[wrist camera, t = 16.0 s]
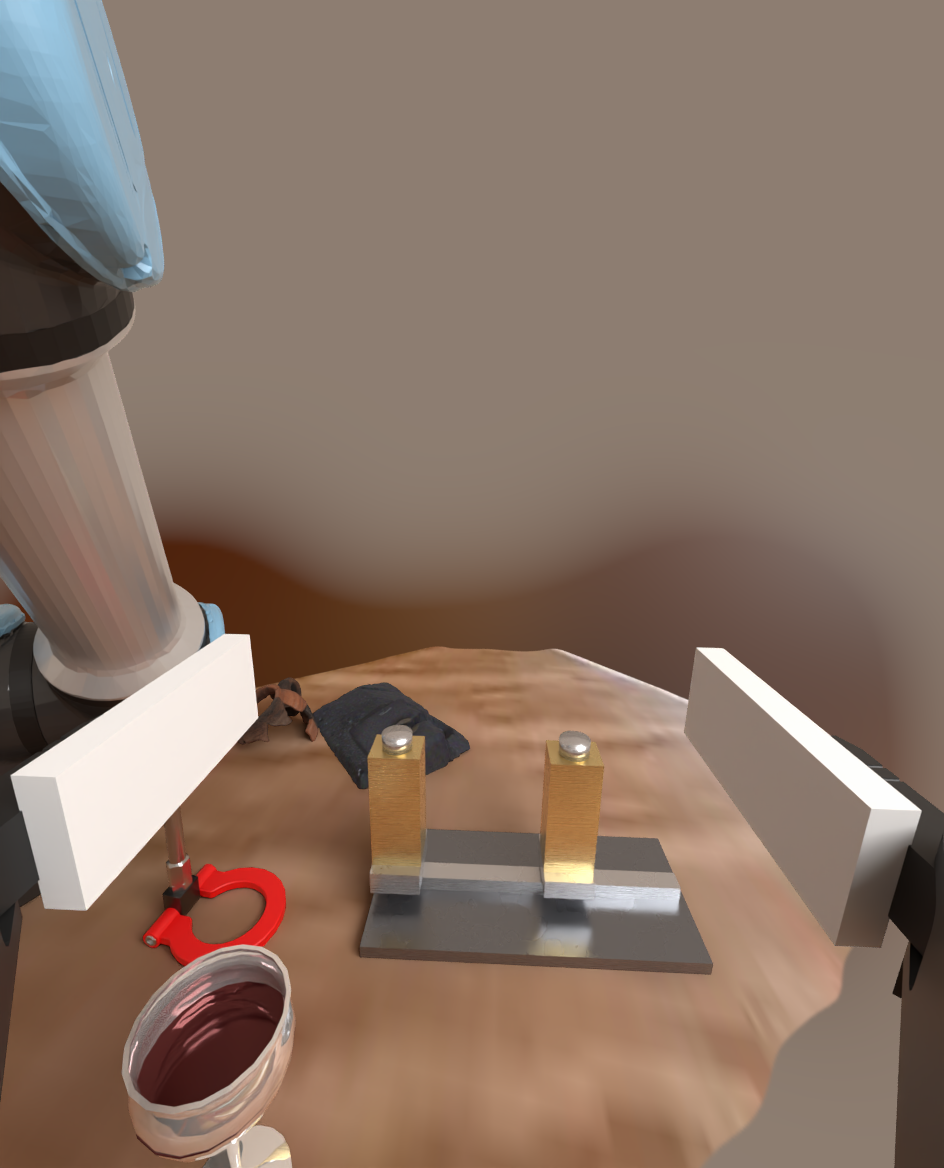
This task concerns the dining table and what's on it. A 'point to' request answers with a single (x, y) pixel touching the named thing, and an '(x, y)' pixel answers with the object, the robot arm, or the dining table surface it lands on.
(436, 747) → the dark folded cloth
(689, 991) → the dining table surface
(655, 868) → the bolt plate
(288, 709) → the brown crumpled piece
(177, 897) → the tow hook
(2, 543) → the robot arm
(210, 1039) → the wineglass
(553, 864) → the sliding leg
